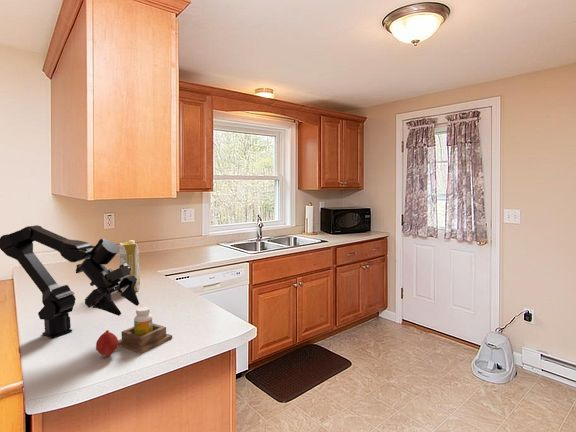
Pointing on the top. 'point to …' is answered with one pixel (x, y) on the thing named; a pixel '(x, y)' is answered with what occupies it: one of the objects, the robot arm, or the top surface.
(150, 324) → the supplement bottle
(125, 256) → the juice carton
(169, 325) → the top surface
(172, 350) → the top surface
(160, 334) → the bottle holder
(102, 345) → the onion
